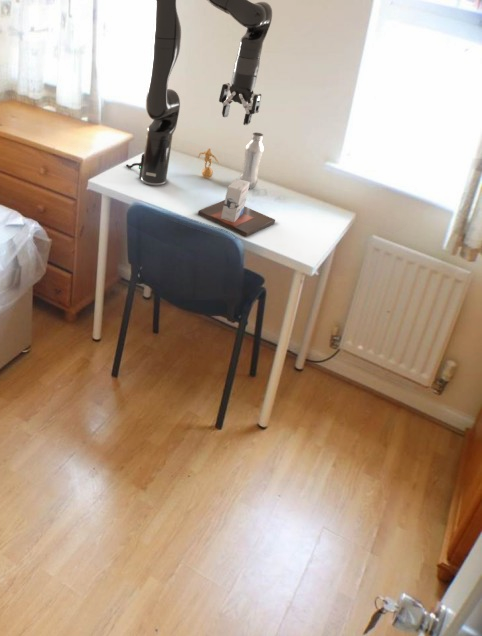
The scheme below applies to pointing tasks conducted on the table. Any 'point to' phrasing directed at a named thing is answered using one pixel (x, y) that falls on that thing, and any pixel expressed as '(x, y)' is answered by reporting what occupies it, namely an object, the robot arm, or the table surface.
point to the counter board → (244, 224)
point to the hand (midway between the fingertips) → (235, 120)
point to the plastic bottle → (252, 159)
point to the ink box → (235, 200)
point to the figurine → (206, 171)
